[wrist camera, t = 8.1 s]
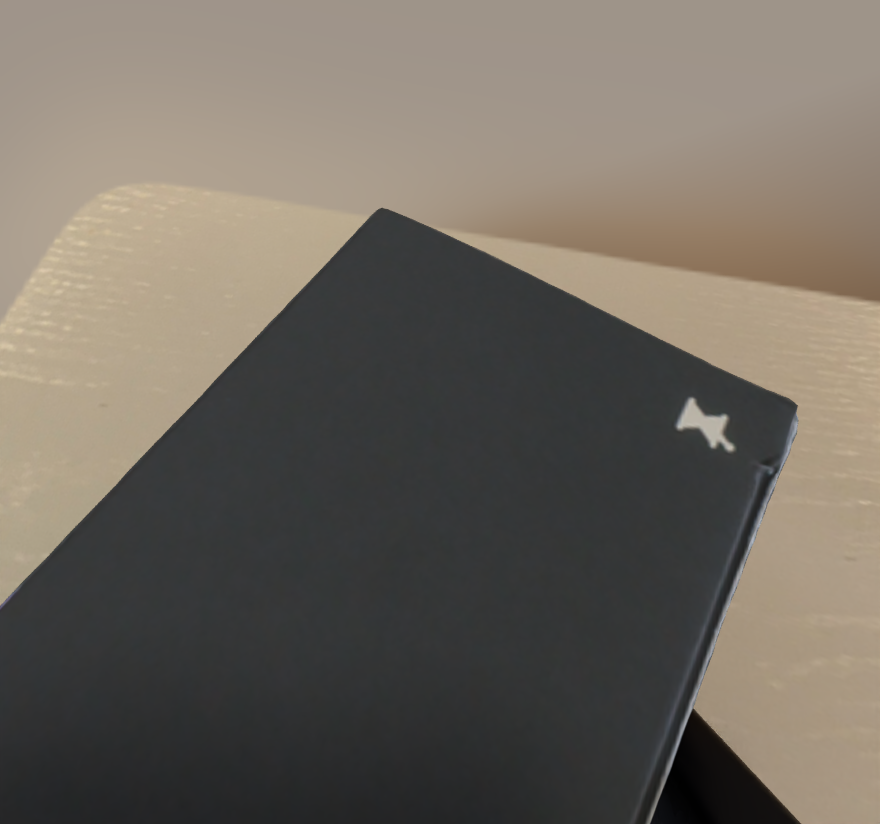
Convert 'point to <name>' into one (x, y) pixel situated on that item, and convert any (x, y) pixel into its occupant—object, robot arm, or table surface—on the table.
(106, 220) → the table surface
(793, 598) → the table surface
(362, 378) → the box
